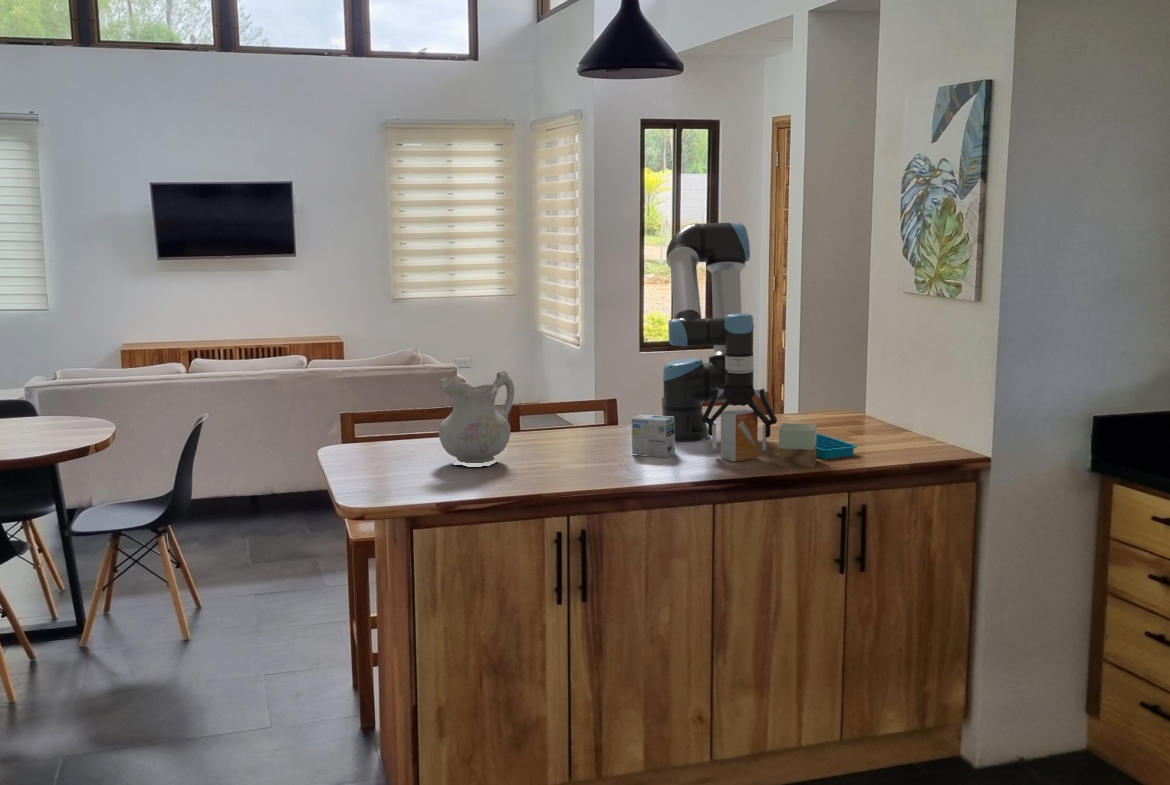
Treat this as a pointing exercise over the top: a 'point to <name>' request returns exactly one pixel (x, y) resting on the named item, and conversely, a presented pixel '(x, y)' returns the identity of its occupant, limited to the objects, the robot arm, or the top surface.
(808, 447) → the sage block
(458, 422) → the ceramic pitcher
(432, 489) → the top surface
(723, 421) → the small box
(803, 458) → the walnut block
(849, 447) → the ice cube tray
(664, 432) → the light bulb box
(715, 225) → the robot arm
